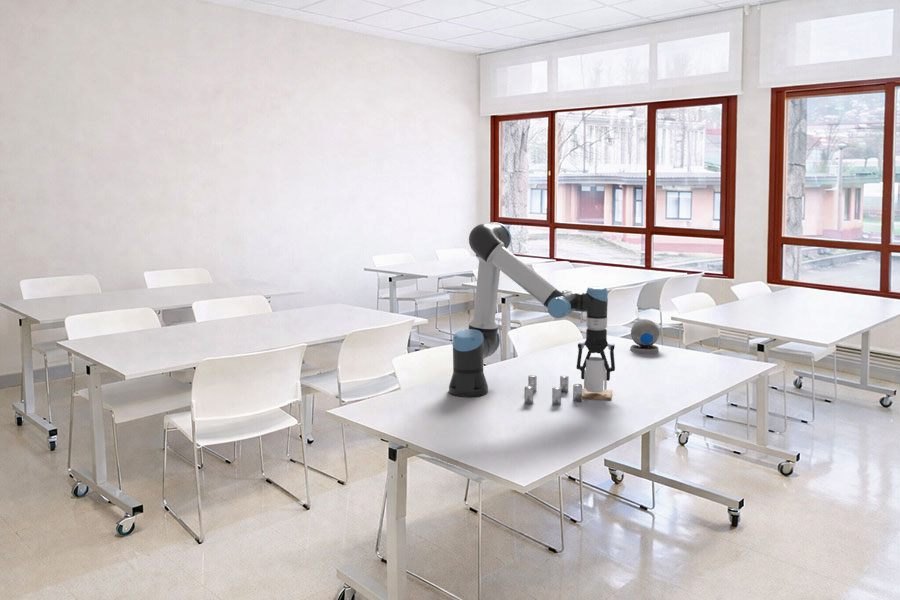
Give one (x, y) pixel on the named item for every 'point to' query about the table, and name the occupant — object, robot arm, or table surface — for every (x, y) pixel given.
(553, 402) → the cylinder
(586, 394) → the trivet
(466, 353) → the robot arm
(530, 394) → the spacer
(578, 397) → the cylinder
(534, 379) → the cylinder
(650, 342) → the webcam
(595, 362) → the mug
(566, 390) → the cylinder
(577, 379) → the table surface
